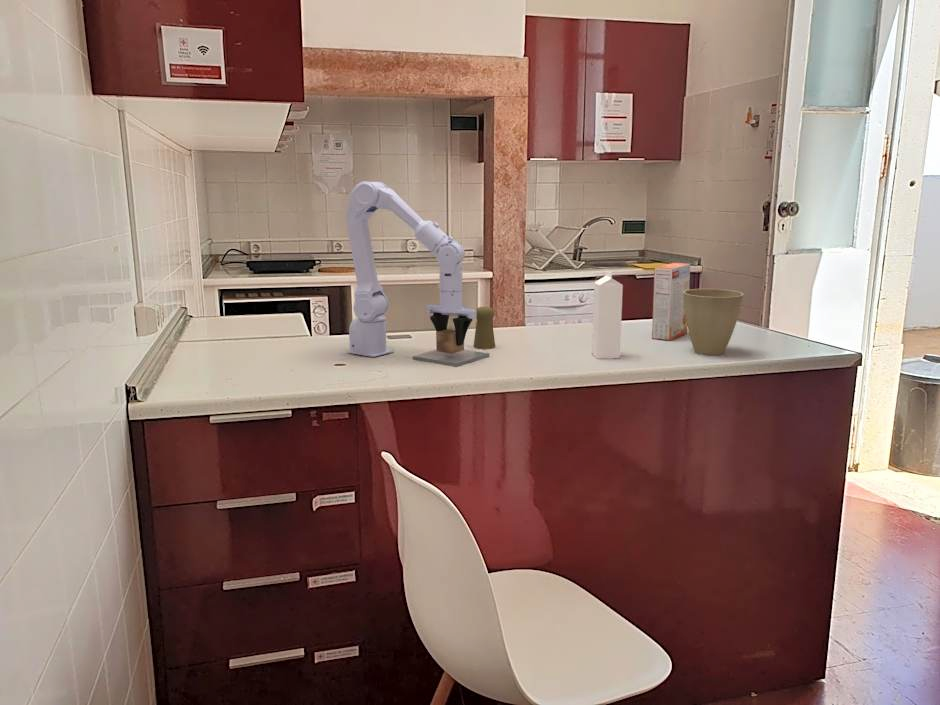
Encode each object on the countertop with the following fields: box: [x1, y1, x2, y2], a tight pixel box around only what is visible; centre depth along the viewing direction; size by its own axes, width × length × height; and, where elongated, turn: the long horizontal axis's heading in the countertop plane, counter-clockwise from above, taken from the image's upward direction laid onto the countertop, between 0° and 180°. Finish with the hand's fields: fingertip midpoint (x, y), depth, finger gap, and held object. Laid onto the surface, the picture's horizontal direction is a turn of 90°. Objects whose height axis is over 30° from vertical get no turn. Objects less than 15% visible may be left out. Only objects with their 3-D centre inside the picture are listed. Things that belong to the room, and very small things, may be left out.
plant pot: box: [683, 288, 744, 356], centre depth 197 cm, size 15×15×16 cm
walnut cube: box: [435, 328, 465, 354], centre depth 192 cm, size 5×5×5 cm
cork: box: [473, 306, 496, 350], centre depth 205 cm, size 6×6×11 cm
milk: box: [591, 269, 624, 360], centre depth 192 cm, size 6×6×22 cm
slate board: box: [412, 349, 490, 368], centre depth 193 cm, size 14×14×1 cm
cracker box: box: [651, 262, 691, 341], centre depth 218 cm, size 14×6×21 cm, turn 144°
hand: (451, 343), depth 192 cm, fingers closed on walnut cube, 5 cm apart
